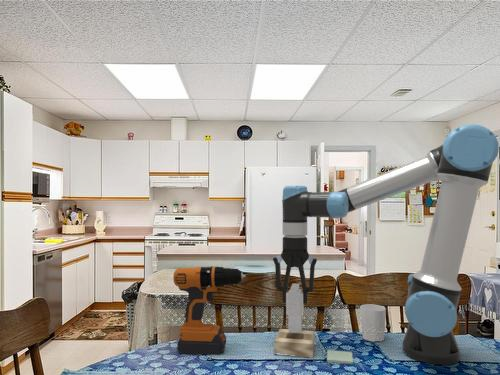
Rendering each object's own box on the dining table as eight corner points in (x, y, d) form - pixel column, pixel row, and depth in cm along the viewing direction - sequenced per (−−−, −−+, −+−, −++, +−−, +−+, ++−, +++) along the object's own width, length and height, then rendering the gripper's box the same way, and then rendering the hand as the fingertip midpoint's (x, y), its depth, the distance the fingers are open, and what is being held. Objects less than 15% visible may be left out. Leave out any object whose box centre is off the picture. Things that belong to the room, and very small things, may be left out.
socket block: (314, 344, 119) (314, 331, 119) (312, 358, 108) (312, 344, 108) (279, 341, 121) (279, 328, 121) (274, 354, 110) (274, 340, 110)
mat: (351, 354, 111) (351, 352, 111) (353, 364, 104) (353, 361, 104) (327, 352, 112) (327, 350, 112) (326, 361, 106) (326, 359, 106)
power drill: (246, 346, 117) (246, 264, 118) (244, 355, 110) (245, 268, 111) (177, 344, 118) (177, 263, 119) (171, 354, 111) (171, 267, 112)
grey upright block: (301, 328, 117) (301, 283, 118) (300, 334, 112) (300, 287, 112) (290, 327, 118) (290, 283, 118) (288, 333, 112) (288, 287, 113)
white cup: (365, 332, 130) (365, 302, 130) (389, 337, 125) (388, 306, 125) (357, 339, 123) (356, 308, 124) (381, 344, 119) (381, 312, 119)
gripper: (323, 235, 118) (323, 312, 117) (269, 234, 121) (269, 309, 120) (322, 238, 110) (322, 319, 109) (265, 236, 114) (265, 315, 113)
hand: (295, 313), depth 115 cm, fingers closed on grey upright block, 4 cm apart
